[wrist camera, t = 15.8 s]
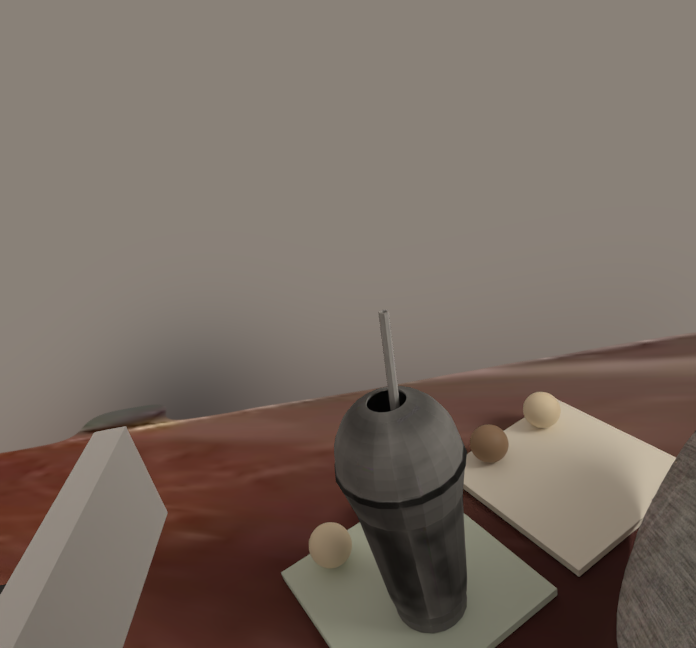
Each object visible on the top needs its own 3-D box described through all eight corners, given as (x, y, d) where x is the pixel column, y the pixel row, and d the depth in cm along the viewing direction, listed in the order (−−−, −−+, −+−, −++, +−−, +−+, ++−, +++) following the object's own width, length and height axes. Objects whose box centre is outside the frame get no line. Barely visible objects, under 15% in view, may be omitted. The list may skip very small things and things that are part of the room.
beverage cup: (351, 618, 37) (264, 346, 28) (415, 538, 41) (357, 283, 33) (451, 680, 32) (383, 376, 23) (510, 582, 37) (473, 297, 28)
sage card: (425, 486, 46) (419, 451, 45) (557, 595, 36) (555, 554, 34) (283, 578, 41) (270, 542, 40) (388, 736, 31) (377, 695, 29)
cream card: (554, 403, 52) (553, 370, 51) (700, 475, 42) (704, 436, 40) (444, 474, 47) (439, 439, 46) (579, 577, 37) (578, 536, 35)
